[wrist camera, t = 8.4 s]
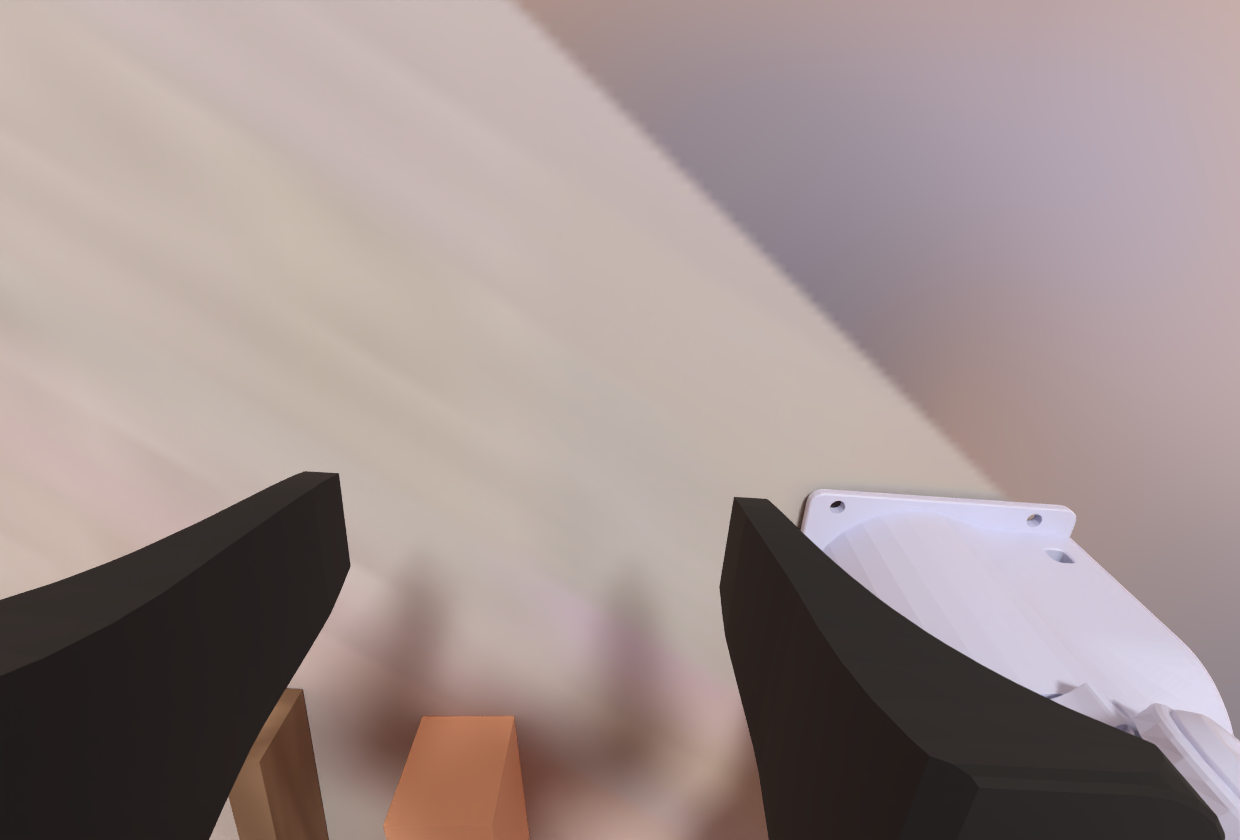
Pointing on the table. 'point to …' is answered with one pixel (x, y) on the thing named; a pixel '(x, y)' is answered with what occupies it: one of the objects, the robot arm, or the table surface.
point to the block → (460, 782)
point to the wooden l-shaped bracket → (280, 779)
